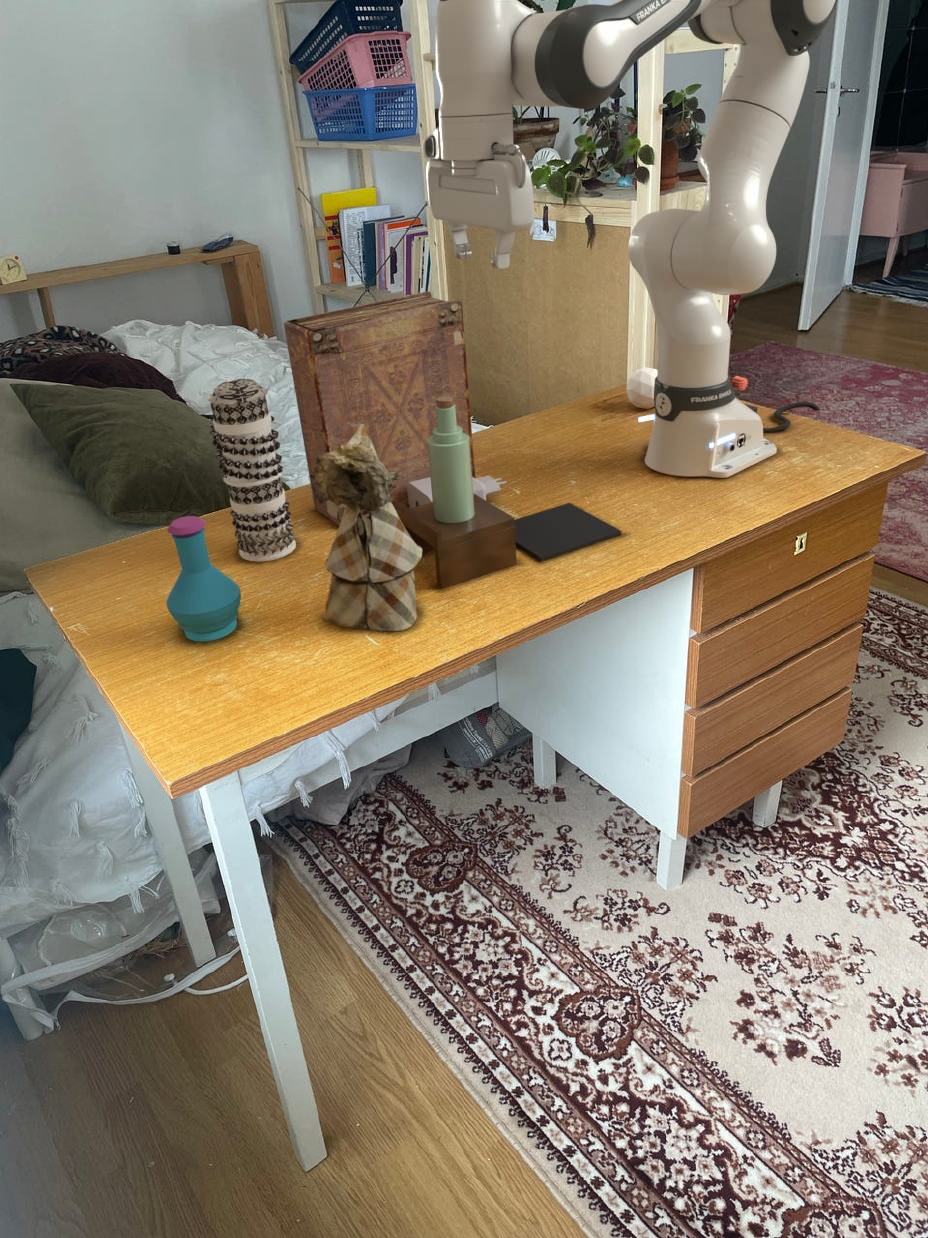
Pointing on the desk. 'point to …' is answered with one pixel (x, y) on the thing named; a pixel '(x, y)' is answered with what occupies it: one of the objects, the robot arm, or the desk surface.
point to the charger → (422, 489)
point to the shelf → (463, 540)
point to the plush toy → (366, 541)
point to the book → (379, 381)
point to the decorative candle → (251, 470)
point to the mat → (560, 531)
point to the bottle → (450, 466)
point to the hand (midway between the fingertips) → (481, 263)
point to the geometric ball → (642, 387)
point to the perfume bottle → (200, 586)
